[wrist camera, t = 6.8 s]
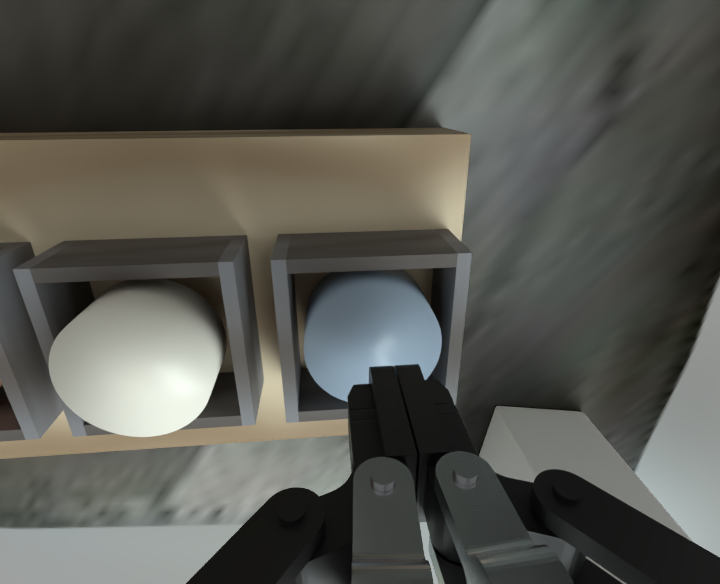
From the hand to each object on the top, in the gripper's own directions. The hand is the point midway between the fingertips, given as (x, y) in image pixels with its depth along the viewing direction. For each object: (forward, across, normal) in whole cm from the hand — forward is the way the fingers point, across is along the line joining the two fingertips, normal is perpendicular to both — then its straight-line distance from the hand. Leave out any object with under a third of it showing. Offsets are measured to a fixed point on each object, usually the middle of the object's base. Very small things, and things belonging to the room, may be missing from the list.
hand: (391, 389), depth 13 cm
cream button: (+4, +8, 0) cm, 9 cm away
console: (+10, +8, 0) cm, 13 cm away
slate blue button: (+5, 0, 0) cm, 5 cm away
